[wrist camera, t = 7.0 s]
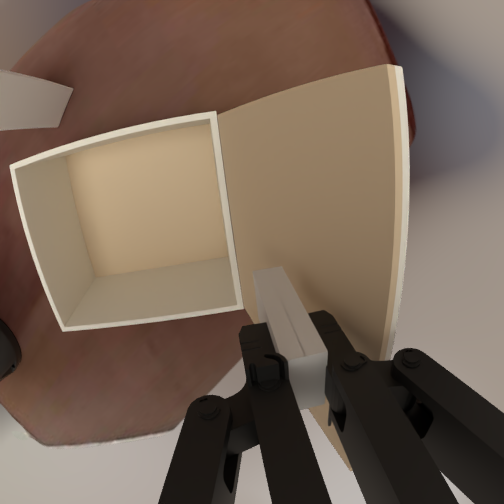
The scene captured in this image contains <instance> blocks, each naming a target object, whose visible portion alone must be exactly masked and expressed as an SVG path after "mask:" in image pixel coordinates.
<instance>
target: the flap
mask: <svg viewBox="0 0 504 504" xmlns="http://www.w3.org/2000/svg"><path fill="white" fill-rule="evenodd" d="M217 116H218V124H219V132H220V140H221V147H222V155H223V162H224V170H225V177H226V185H227V192H228V199H229V207H230V214H231V221H232V228H233V235H234V242H235V249H236V256H237V263H238V270H239V276H240V283H241V290H242V297H243V303H244V308H245V309H246V311H247V313H248V314H249V316H250V318H251V319H252V321H253V322H254V324H258V323H260V321H259V318H258V311H257V303H256V295H255V287H254V279H253V271H255V270H261V269H267V268H273V267H279V266H282V267H283V269H284V271H285V273H286V275H287V276H288V278H289V280H290V282H291V284H292V286H293V287H294V289H295V291H296V293H297V295H298V297H299V298H300V300H301V302H302V304H303V306H304V308H305V310H306V311H307V313H311V312H316V311H321V310H325V311H327V312H328V313H330V314H332V315H333V316H334V318H335V319H336V321H337V323H338V324H339V326H340V327H341V329H342V330H343V332H344V333H345V335H346V336H347V338H348V340H349V341H350V343H351V344H352V346H353V347H354V349H355V350H356V352H360V353H363V354H365V355H366V356H367V357H368V358H369V359H370V360H373V361H386V360H390V358H391V354H392V349H393V343H394V338H395V333H396V327H397V321H398V315H399V309H400V302H401V295H402V287H403V279H404V270H405V261H406V260H405V259H406V249H407V236H408V217H409V183H410V181H409V180H410V179H409V178H410V172H409V136H408V119H407V107H406V96H405V87H404V78H403V71H402V67H400V66H394V65H389V64H385V65H380V66H375V67H370V68H365V69H361V70H357V71H352V72H348V73H344V74H340V75H336V76H332V77H328V78H325V79H321V80H318V81H314V82H310V83H307V84H304V85H300V86H297V87H294V88H291V89H287V90H284V91H281V92H278V93H275V94H272V95H269V96H266V97H264V98H261V99H258V100H255V101H252V102H250V103H247V104H244V105H241V106H239V107H236V108H234V109H231V110H229V111H226V112H223V113H221V114H219V115H217ZM308 409H309V410H310V412H311V414H312V415H313V417H314V418H315V419H316V421H317V423H318V424H319V426H320V427H321V429H322V430H323V432H324V433H325V435H326V436H327V438H328V439H329V441H330V442H331V444H332V445H333V447H334V448H335V449H336V451H337V452H338V454H339V455H340V457H341V458H342V460H343V461H344V463H345V464H346V465H347V467H348V468H349V470H350V471H353V470H352V467H351V465H350V463H349V460H348V458H347V455H346V453H345V451H344V448H343V446H342V444H341V441H340V439H339V436H338V434H337V432H336V429H335V427H334V425H333V422H332V423H331V426H328V413H329V402H328V400H327V398H326V396H325V404H323V405H319V406H315V407H311V408H308Z"/></svg>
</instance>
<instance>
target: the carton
mask: <svg viewBox="0 0 504 504" xmlns="http://www.w3.org/2000/svg"><path fill="white" fill-rule="evenodd" d="M10 170H11V176H12V181H13V186H14V191H15V195H16V199H17V204H18V208H19V212H20V216H21V220H22V223H23V227H24V230H25V234H26V237H27V241H28V244H29V247H30V250H31V253H32V256H33V259H34V262H35V265H36V268H37V271H38V274H39V277H40V279H41V282H42V285H43V287H44V290H45V292H46V295H47V297H48V300H49V302H50V305H51V307H52V309H53V312H54V314H55V316H56V319H57V321H58V323H59V325H60V327H61V329H62V332H64V331H76V330H87V329H97V328H107V327H116V326H125V325H134V324H142V323H150V322H158V321H166V320H173V319H180V318H188V317H194V316H201V315H208V314H215V313H221V312H227V311H233V310H240V309H244V307H243V301H242V294H241V288H240V281H239V274H238V267H237V261H236V254H235V247H234V240H233V233H232V226H231V219H230V212H229V205H228V197H227V190H226V183H225V175H224V168H223V160H222V153H221V145H220V138H219V130H218V122H217V114H216V111H212V112H205V113H199V114H193V115H186V116H181V117H175V118H170V119H165V120H159V121H155V122H150V123H145V124H141V125H136V126H132V127H128V128H123V129H119V130H115V131H112V132H108V133H104V134H100V135H97V136H93V137H90V138H86V139H83V140H79V141H76V142H73V143H70V144H67V145H63V146H60V147H57V148H54V149H51V150H49V151H46V152H43V153H40V154H37V155H35V156H32V157H29V158H27V159H24V160H21V161H19V162H16V163H14V164H11V165H10Z"/></svg>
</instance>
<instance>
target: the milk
mask: <svg viewBox="0 0 504 504" xmlns="http://www.w3.org/2000/svg"><path fill="white" fill-rule="evenodd" d="M72 92H73V88H70V87H67V86H64V85H61V84H57V83H54V82H51V81H48V80H44V79H40V78H36V77H32V76H28V75H24V74H19V73H15V72H10V71H6V70H1V69H0V130H13V129H28V128H51V127H58V126H59V124H60V121H61V118H62V116H63V113H64V111H65V108H66V106H67V103H68V101H69V99H70V96H71V94H72Z"/></svg>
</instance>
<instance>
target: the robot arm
mask: <svg viewBox="0 0 504 504" xmlns="http://www.w3.org/2000/svg"><path fill="white" fill-rule="evenodd" d="M253 279H254V287H255V295H256V303H257V311H258V318H259V321H260V323H258V324H252V325H247V326H242V328H241V331H240V333H239V339H240V345H241V350H242V356H243V361H244V366H245V373H246V383H245V385H244V387H243V388H242V390H240V391H239V392H238V393H236V394H235V395H233V396H231V397H229V398H226V399H224V398H222V397H220V396H216V395H206V396H202V397H200V398H197V399H196V400H195V401H193V402H192V403H191V404H190V406H189V408H188V410H187V413H186V416H185V419H184V423H183V426H182V429H181V432H180V435H179V438H178V442H177V445H176V448H175V451H174V454H173V457H172V461H171V464H170V467H169V470H168V473H167V476H166V480H165V483H164V486H163V489H162V492H161V496H160V499H159V502H158V504H234V502H235V495H236V489H237V483H238V476H239V470H240V462H241V457H242V452H243V451H245V450H248V449H250V448H252V447H254V446H256V445H258V444H260V449H261V453H262V459H263V463H264V468H265V472H266V478H267V482H268V487H269V491H270V496H271V500H272V504H332V503H331V500H330V497H329V494H328V491H327V488H326V485H325V482H324V479H323V477H322V474H321V471H320V468H319V465H318V462H317V459H316V457H315V453H314V450H313V448H312V445H311V442H310V439H309V436H308V433H307V430H306V427H305V424H304V421H303V418H302V416H301V413H300V410H303V409H307V408H311V407H315V406H319V405H323V404H325V396H326V398H327V400H328V402H329V413H328V426H331V423H332V422H333V425H334V427H335V429H336V432H337V434H338V436H339V439H340V441H341V444H342V446H343V448H344V451H345V453H346V455H347V458H348V460H349V463H350V465H351V467H352V470H353V472H354V475H355V477H356V479H357V482H358V484H359V487H360V489H361V492H362V494H363V496H364V499H365V501H366V504H459V503H458V502H457V500H456V498H455V496H454V494H453V493H452V491H451V489H450V488H449V486H448V484H447V482H446V481H445V479H444V477H443V476H442V474H441V472H442V473H443V474H444V475H445V476H446V477H447V478H448V479H449V480H450V481H451V482H452V483H453V484H454V485H455V486H456V487H458V488H459V489H460V490H461V491H462V492H463V493H464V494H465V495H466V496H467V497H468V498H469V499H470V500H471V501H472V502H473V503H474V504H504V413H503V412H501V411H500V410H498V408H496V407H495V406H494V405H492V404H491V403H489V402H488V401H487V400H486V399H484V398H483V397H482V396H481V395H479V394H478V393H477V392H475V391H474V390H473V389H472V388H470V387H469V386H468V385H466V384H465V383H463V382H462V381H461V380H460V379H458V378H457V377H455V376H454V375H453V374H452V373H450V372H449V371H448V370H446V369H445V368H444V367H442V366H441V365H440V364H438V363H437V362H436V361H434V360H433V359H432V358H430V357H429V356H428V355H426V354H425V353H424V352H422V351H420V350H418V349H413V348H405V349H402V350H399V351H398V352H397V353H396V354H395V355H394V358H393V360H386V361H373V360H370V359H369V358H368V357H367V356H366V355H365V354H363V353H360V352H356V350H355V349H354V347H353V346H352V344H351V343H350V341H349V340H348V338H347V336H346V335H345V333H344V332H343V330H342V329H341V327H340V326H339V324H338V323H337V321H336V319H335V318H334V316H333V315H332V314H330V313H328V312H327V311H325V310H321V311H316V312H311V313H307V311H306V310H305V308H304V306H303V304H302V302H301V300H300V298H299V297H298V295H297V293H296V291H295V289H294V287H293V286H292V284H291V282H290V280H289V278H288V276H287V275H286V273H285V271H284V269H283V267H282V266H279V267H273V268H267V269H261V270H255V271H253ZM20 361H21V351H20V347H19V345H18V342H17V340H16V338H15V337H14V335H13V333H12V332H11V331H10V329H9V328H8V327H7V326H6V325H5V324H4V323H3V322H2V321H1V320H0V381H1V380H3V379H4V378H5V377H7V376H8V375H10V374H11V373H13V372H14V371H15V370H16V368H17V367H18V365H19V363H20ZM440 471H441V472H440Z"/></svg>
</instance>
